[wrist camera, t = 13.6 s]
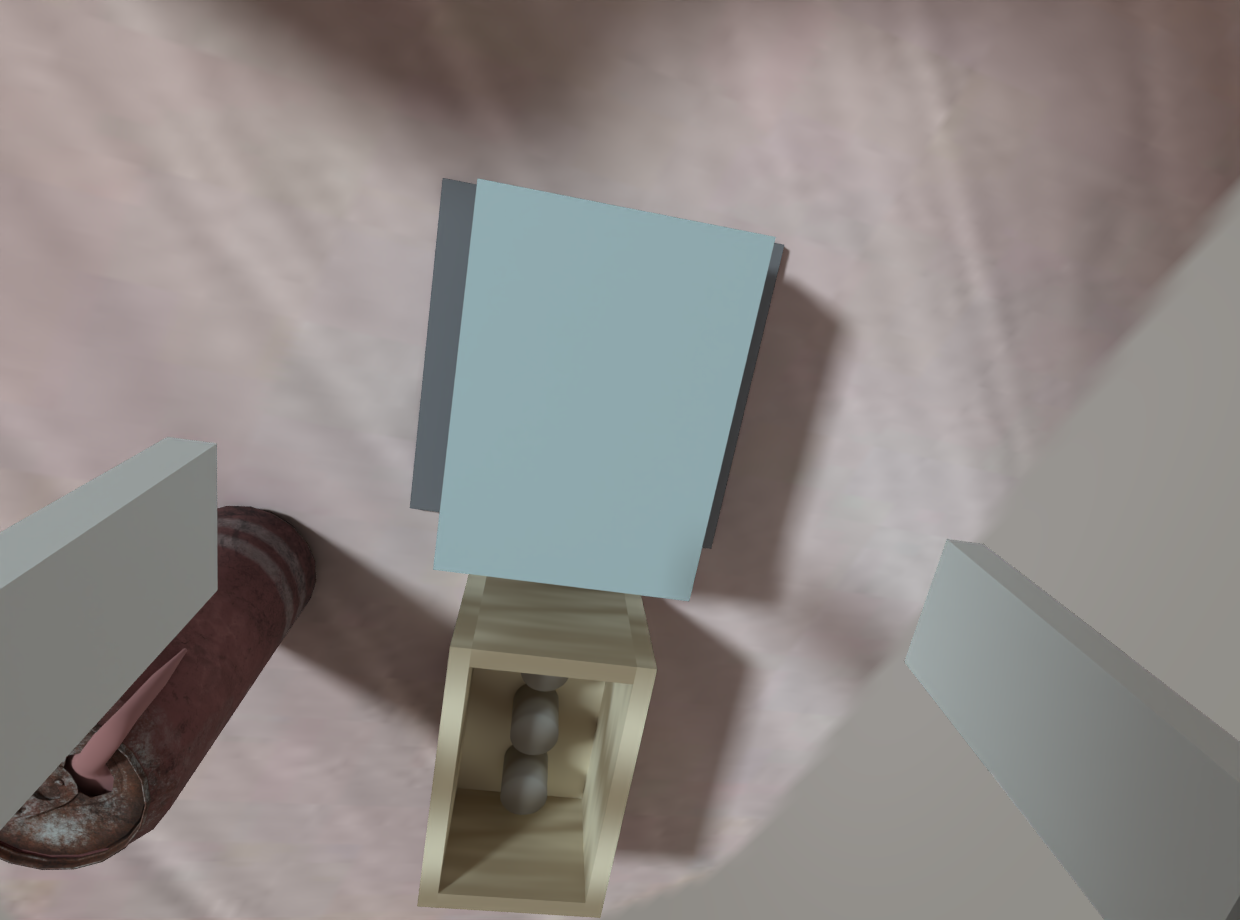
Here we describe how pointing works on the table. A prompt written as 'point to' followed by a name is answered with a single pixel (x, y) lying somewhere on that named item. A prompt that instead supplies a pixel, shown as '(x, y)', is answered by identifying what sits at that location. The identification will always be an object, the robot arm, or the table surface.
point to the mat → (446, 341)
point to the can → (170, 704)
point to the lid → (593, 391)
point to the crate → (535, 747)
